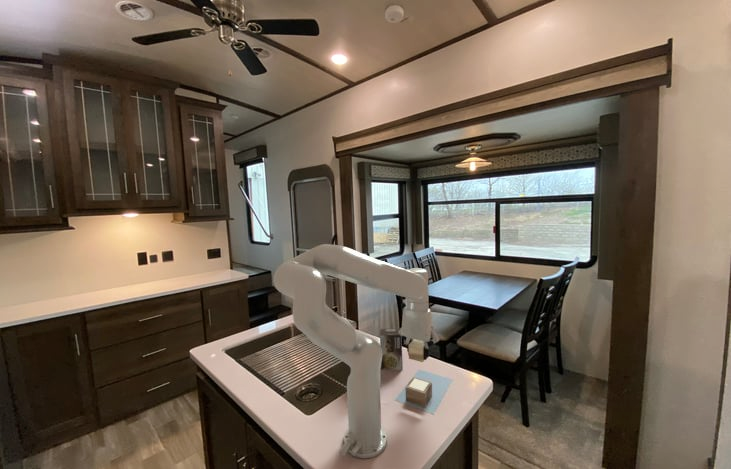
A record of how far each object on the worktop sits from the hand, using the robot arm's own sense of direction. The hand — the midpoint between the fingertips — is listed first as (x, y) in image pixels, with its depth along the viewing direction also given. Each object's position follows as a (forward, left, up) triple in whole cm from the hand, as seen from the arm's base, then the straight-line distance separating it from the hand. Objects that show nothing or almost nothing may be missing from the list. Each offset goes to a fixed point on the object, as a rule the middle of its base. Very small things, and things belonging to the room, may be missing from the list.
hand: (418, 355), depth 98 cm
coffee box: (+14, +18, -17) cm, 28 cm away
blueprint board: (+6, 0, -17) cm, 18 cm away
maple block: (0, 0, -1) cm, 1 cm away
